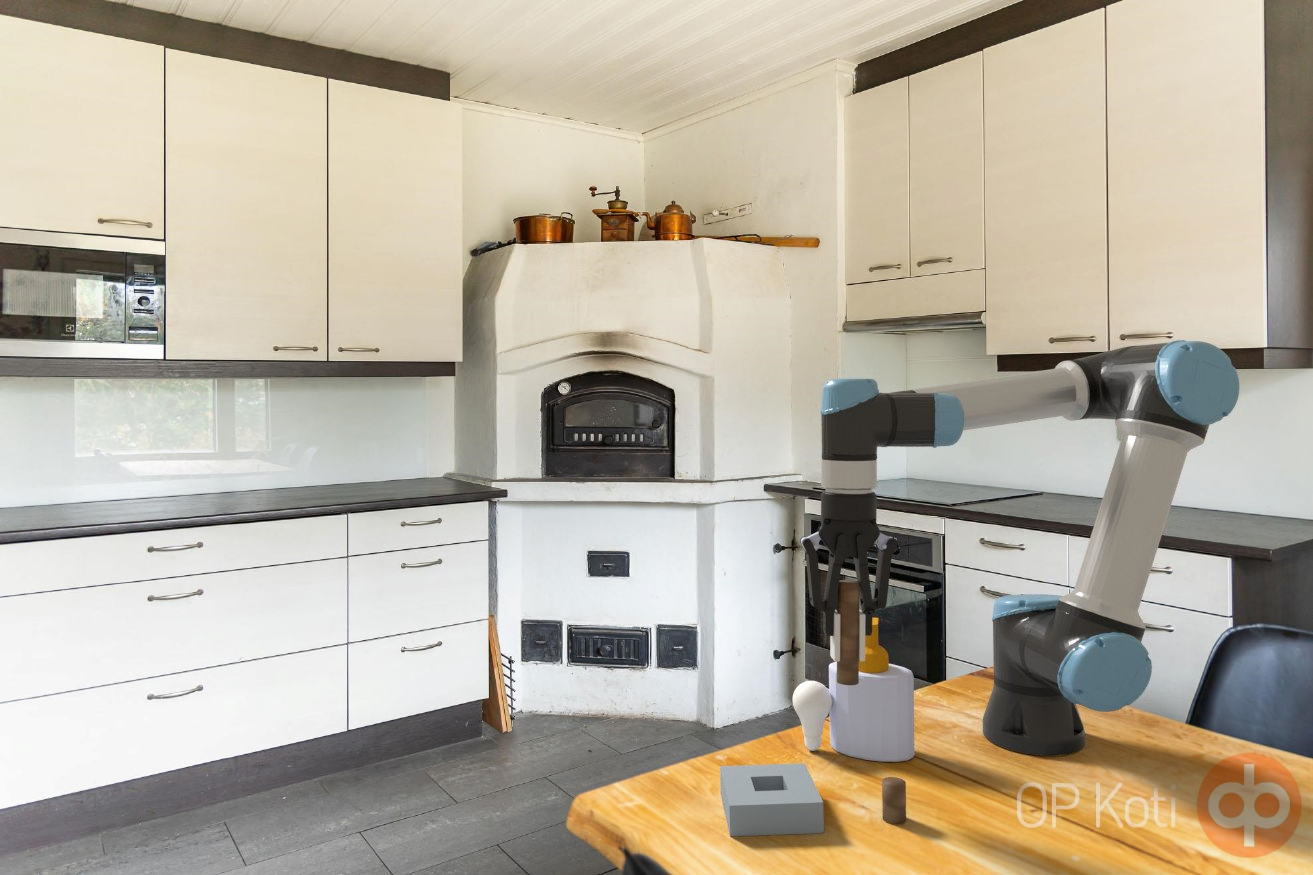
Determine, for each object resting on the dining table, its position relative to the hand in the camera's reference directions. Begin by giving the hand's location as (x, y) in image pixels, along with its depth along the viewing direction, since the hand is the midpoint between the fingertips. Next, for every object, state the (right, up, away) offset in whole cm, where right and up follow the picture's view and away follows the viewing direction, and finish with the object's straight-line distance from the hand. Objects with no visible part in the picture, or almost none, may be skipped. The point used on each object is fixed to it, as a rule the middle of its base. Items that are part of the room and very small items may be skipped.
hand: (847, 657), depth 121 cm
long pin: (0, -3, 0) cm, 3 cm away
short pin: (+5, -19, -7) cm, 21 cm away
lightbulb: (-2, -19, +16) cm, 25 cm away
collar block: (-11, -20, -4) cm, 23 cm away
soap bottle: (+7, -19, +15) cm, 25 cm away
